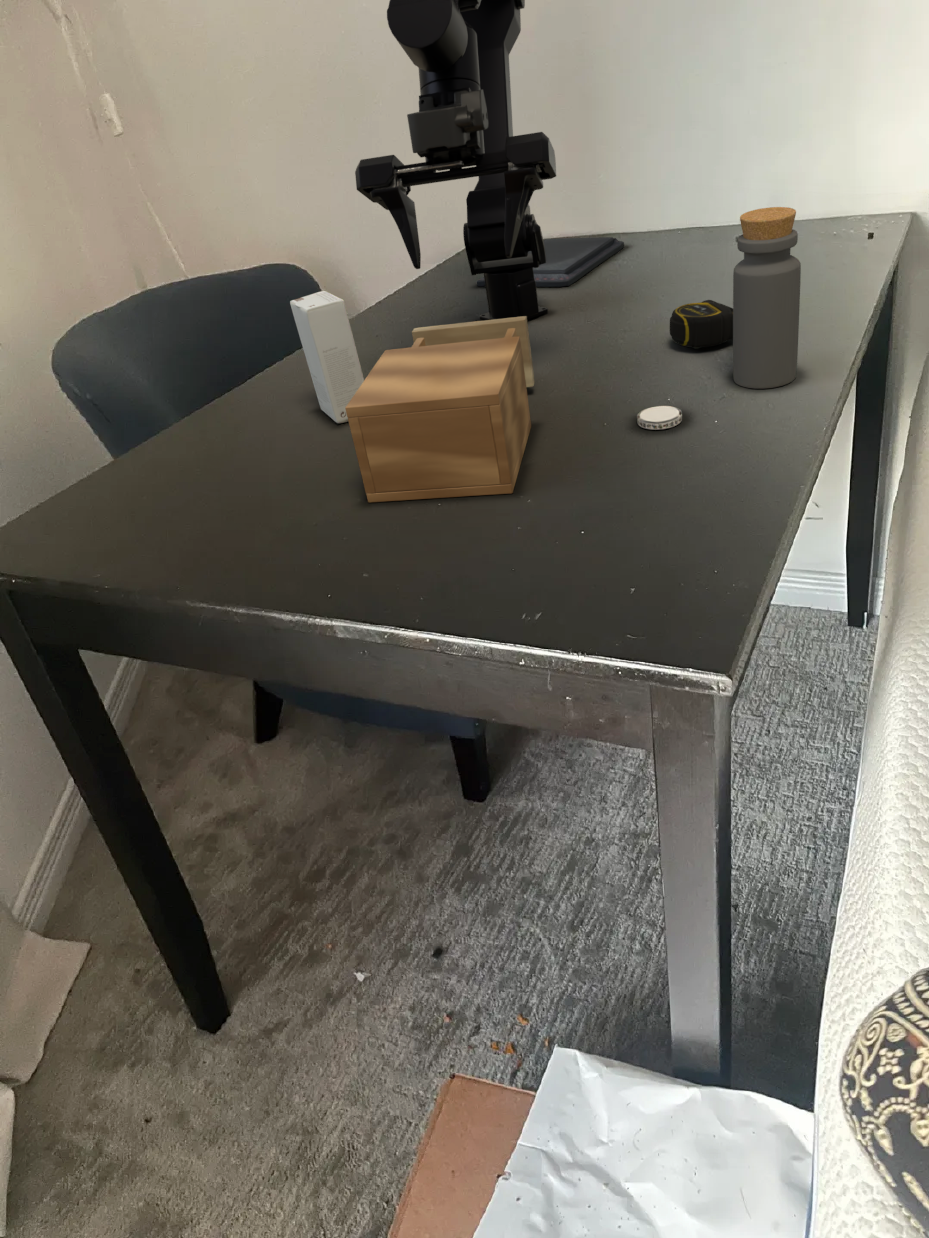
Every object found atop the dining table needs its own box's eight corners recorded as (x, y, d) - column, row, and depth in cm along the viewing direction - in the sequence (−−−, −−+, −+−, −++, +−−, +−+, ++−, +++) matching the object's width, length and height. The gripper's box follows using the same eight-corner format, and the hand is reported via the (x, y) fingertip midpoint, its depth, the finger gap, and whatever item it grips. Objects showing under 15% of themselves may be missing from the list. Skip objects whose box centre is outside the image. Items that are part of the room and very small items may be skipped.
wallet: (565, 273, 126) (471, 273, 134) (566, 288, 127) (473, 287, 135) (629, 232, 139) (539, 234, 147) (630, 246, 140) (541, 247, 148)
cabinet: (403, 437, 93) (385, 350, 88) (531, 426, 90) (520, 336, 85) (367, 503, 82) (344, 407, 77) (512, 493, 79) (498, 394, 74)
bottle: (725, 373, 93) (724, 213, 85) (783, 362, 93) (788, 201, 85) (744, 393, 88) (745, 226, 80) (806, 382, 88) (814, 213, 80)
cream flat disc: (635, 430, 85) (634, 423, 85) (640, 412, 88) (639, 406, 88) (680, 428, 84) (679, 421, 83) (683, 410, 87) (683, 404, 87)
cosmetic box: (374, 413, 99) (348, 298, 93) (335, 426, 98) (305, 310, 91) (354, 398, 104) (328, 287, 97) (316, 410, 103) (287, 299, 96)
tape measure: (748, 343, 99) (749, 308, 97) (690, 359, 98) (689, 323, 96) (714, 328, 104) (714, 294, 102) (659, 343, 103) (657, 309, 101)
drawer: (433, 379, 103) (422, 316, 99) (538, 369, 100) (531, 303, 96) (399, 442, 89) (384, 372, 85) (519, 433, 87) (509, 360, 83)
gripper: (327, 75, 84) (344, 259, 86) (534, 39, 79) (545, 233, 82) (367, 117, 94) (381, 279, 97) (552, 86, 90) (561, 257, 93)
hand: (462, 262), depth 92 cm, fingers open, 9 cm apart
